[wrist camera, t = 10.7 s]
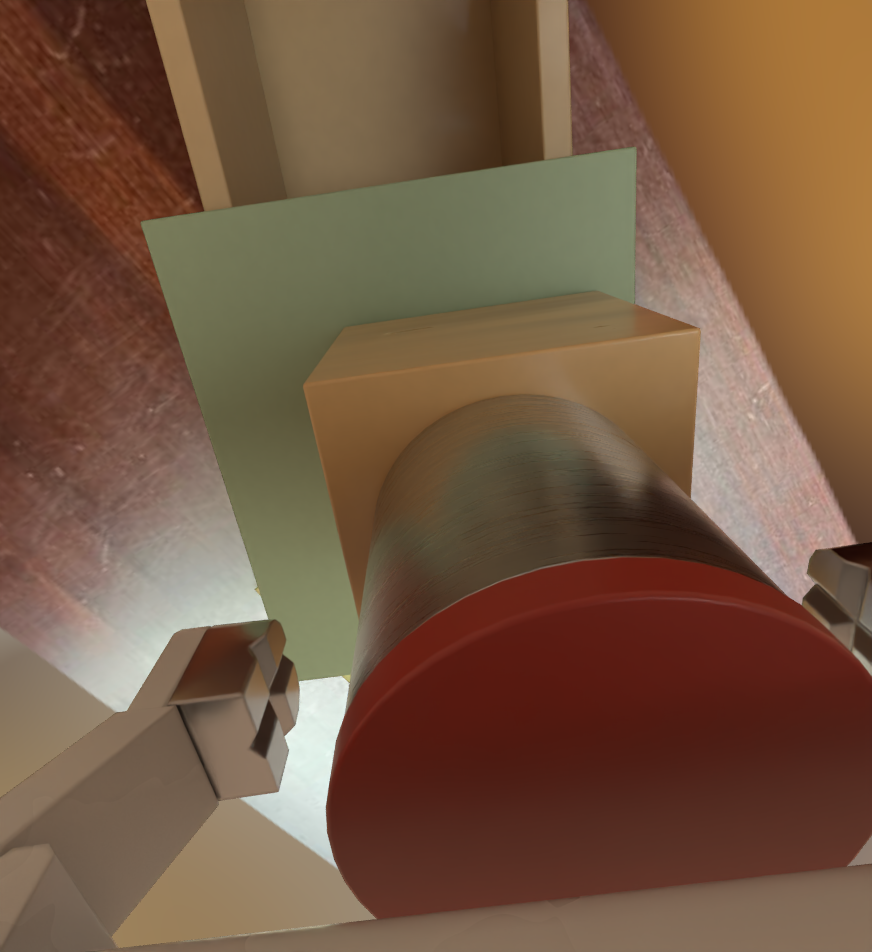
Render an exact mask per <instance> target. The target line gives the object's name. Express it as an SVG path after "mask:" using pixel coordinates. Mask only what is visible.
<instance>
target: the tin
mask: <svg viewBox="0 0 872 952" xmlns="http://www.w3.org/2000/svg"><path fill="white" fill-rule="evenodd" d="M326 820H327V834H328V838H329V841H330V845H331V849H332V853H333V857H334V860H335V862H336V864H337V867H338V869H339V871H340V873H341V875H342V877H343V879H344V881H345V883H346V884H347V885H348V887H349V888H350V890H351V891H352V892H353V894H354V895H355V897H356V898H357V899H358V901H359V902H360V903H361V904H362V905H363V906H364V907H365V908H366V909H367V910H368V911H369V912H370V913H371V914H373V916H374V917H375V918H376V919H383V918H392V917H401V916H410V915H419V914H428V913H437V912H445V911H454V910H463V909H472V908H481V907H490V906H499V905H508V904H517V903H526V902H535V901H544V900H553V899H562V898H571V897H580V896H589V895H598V894H607V893H616V892H625V891H634V890H643V889H652V888H661V887H670V886H679V885H688V884H697V883H706V882H715V881H724V880H733V879H742V878H751V877H759V876H768V875H777V874H786V873H795V872H803V871H812V870H821V869H830V868H838V867H847V865H848V864H849V863H850V862H851V861H852V860H853V859H854V858H855V857H856V856H857V854H858V853H859V852H860V850H861V849H862V848H863V846H864V845H865V844H866V842H867V841H868V840H869V838H870V837H871V835H872V676H871V675H870V673H869V672H868V671H867V669H866V668H865V667H864V665H863V664H862V663H861V662H860V660H859V659H858V658H857V657H856V656H855V655H854V654H853V653H852V652H851V651H850V650H849V649H848V648H847V647H846V646H845V645H844V644H843V643H842V642H840V641H839V640H838V639H837V638H836V637H835V636H834V635H833V634H832V633H831V632H830V631H829V630H828V629H827V628H826V627H825V626H824V625H823V624H822V623H821V622H820V621H819V620H818V619H816V618H815V617H814V616H813V615H812V614H811V613H810V612H808V611H807V610H806V609H805V608H804V607H803V606H802V605H800V604H799V603H797V602H795V601H794V600H792V599H791V598H789V597H788V596H787V595H786V594H785V593H784V592H783V591H782V590H781V589H780V588H779V587H778V586H777V585H776V584H775V583H774V582H773V581H772V580H771V579H770V578H769V577H768V576H767V575H766V574H765V573H764V572H763V571H762V570H761V569H760V568H759V567H758V566H757V565H756V564H755V563H754V562H753V561H752V560H751V559H750V558H749V557H748V556H747V555H746V554H745V553H744V552H743V551H742V550H741V549H740V548H739V547H738V546H737V545H736V544H735V543H734V542H733V541H732V540H731V539H730V538H729V537H728V536H727V535H726V534H725V533H724V532H723V531H722V530H721V529H720V528H719V527H718V526H717V525H716V524H715V523H714V522H713V521H712V520H711V519H710V518H709V517H708V516H707V515H706V514H705V513H704V512H703V511H702V510H701V509H700V508H699V507H698V506H697V505H696V504H695V503H694V502H693V501H692V500H691V499H690V498H689V497H688V496H687V495H686V494H685V493H684V492H683V491H682V490H681V489H680V488H679V487H678V485H677V484H676V483H675V482H674V481H673V480H672V479H671V478H670V477H669V476H668V475H667V474H666V473H665V472H664V471H663V470H662V469H661V468H660V467H659V466H658V465H657V464H656V463H655V462H654V461H653V460H652V459H651V458H650V457H649V456H648V455H647V454H646V453H645V452H644V451H643V450H642V449H641V448H640V447H639V446H638V445H637V444H636V443H635V442H634V441H633V440H632V439H631V438H630V437H629V436H628V435H627V434H626V433H625V432H623V431H622V430H621V429H620V428H619V427H618V426H617V425H616V424H615V423H613V422H612V421H610V420H609V419H607V418H606V417H604V416H603V415H601V414H600V413H598V412H596V411H594V410H592V409H590V408H588V407H586V406H584V405H581V404H579V403H575V402H572V401H569V400H566V399H562V398H557V397H551V396H545V395H529V394H519V395H508V396H499V397H495V398H490V399H486V400H481V401H478V402H475V403H473V404H470V405H467V406H464V407H461V408H459V409H457V410H455V411H453V412H451V413H449V414H447V415H445V416H443V417H442V418H440V419H439V420H437V421H436V422H434V423H433V424H432V425H430V426H429V427H427V428H426V429H425V430H424V431H422V432H421V433H420V434H419V435H418V436H417V437H416V438H414V439H413V440H412V441H411V442H410V443H409V445H408V446H407V447H406V448H405V449H404V450H403V452H402V453H401V454H400V455H399V456H398V458H397V459H396V461H395V463H394V464H393V466H392V467H391V469H390V470H389V472H388V474H387V476H386V478H385V481H384V483H383V485H382V487H381V490H380V494H379V497H378V500H377V504H376V510H375V517H374V524H373V530H372V537H371V544H370V550H369V557H368V564H367V570H366V577H365V584H364V590H363V597H362V604H361V611H360V617H359V624H358V631H357V637H356V644H355V651H354V657H353V664H352V671H351V677H350V684H349V691H348V697H347V704H346V711H345V716H344V719H343V722H342V725H341V728H340V731H339V734H338V737H337V740H336V745H335V751H334V757H333V764H332V770H331V776H330V782H329V789H328V796H327V803H326Z"/></svg>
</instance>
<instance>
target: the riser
mask: <svg viewBox="0 0 872 952" xmlns="http://www.w3.org/2000/svg"><path fill="white" fill-rule="evenodd" d="M700 334H701V331H700V328H698V327H695V326H692V325H689V324H687V323H684V322H681V321H679V320H676V319H673V318H670V317H668V316H665V315H662V314H660V313H657V312H654V311H651V310H649V309H646V308H643V307H641V306H638V305H635V304H632V303H630V302H627V301H624V300H622V299H619V298H616V297H613V296H611V295H608V294H605V293H603V292H600V291H592V292H585V293H578V294H571V295H564V296H557V297H550V298H543V299H536V300H529V301H522V302H515V303H508V304H501V305H494V306H487V307H480V308H474V309H467V310H460V311H453V312H446V313H439V314H432V315H425V316H418V317H411V318H404V319H397V320H390V321H383V322H376V323H369V324H362V325H355V326H348V327H345V328H343V330H342V331H341V333H340V334H339V335H338V337H337V338H336V340H335V341H334V342H333V344H332V345H331V346H330V348H329V349H328V351H327V352H326V353H325V355H324V356H323V358H322V359H321V360H320V362H319V363H318V365H317V366H316V367H315V369H314V370H313V372H312V373H311V374H310V376H309V377H308V378H307V380H306V381H305V383H304V384H303V390H304V394H305V398H306V402H307V406H308V410H309V415H310V419H311V423H312V427H313V431H314V435H315V440H316V444H317V448H318V452H319V456H320V460H321V465H322V469H323V473H324V477H325V481H326V485H327V490H328V494H329V498H330V502H331V506H332V510H333V515H334V519H335V523H336V527H337V531H338V535H339V540H340V544H341V548H342V552H343V556H344V560H345V565H346V569H347V573H348V577H349V581H350V585H351V590H352V594H353V598H354V602H355V606H356V610H357V615H358V619H359V617H360V611H361V604H362V597H363V590H364V584H365V577H366V570H367V564H368V557H369V550H370V544H371V537H372V530H373V524H374V517H375V510H376V504H377V500H378V497H379V494H380V490H381V487H382V485H383V483H384V481H385V478H386V476H387V474H388V472H389V470H390V469H391V467H392V466H393V464H394V463H395V461H396V459H397V458H398V456H399V455H400V454H401V453H402V452H403V450H404V449H405V448H406V447H407V446H408V445H409V443H410V442H411V441H412V440H413V439H414V438H416V437H417V436H418V435H419V434H420V433H421V432H422V431H424V430H425V429H426V428H427V427H429V426H430V425H432V424H433V423H434V422H436V421H437V420H439V419H440V418H442V417H443V416H445V415H447V414H449V413H451V412H453V411H455V410H457V409H459V408H461V407H464V406H467V405H470V404H473V403H475V402H478V401H481V400H486V399H490V398H495V397H499V396H508V395H519V394H529V395H545V396H551V397H557V398H562V399H566V400H569V401H572V402H575V403H579V404H581V405H584V406H586V407H588V408H590V409H592V410H594V411H596V412H598V413H600V414H601V415H603V416H604V417H606V418H607V419H609V420H610V421H612V422H613V423H615V424H616V425H617V426H618V427H619V428H620V429H621V430H622V431H623V432H625V433H626V434H627V435H628V436H629V437H630V438H631V439H632V440H633V441H634V442H635V443H636V444H637V445H638V446H639V447H640V448H641V449H642V450H643V451H644V452H645V453H646V454H647V455H648V456H649V457H650V458H651V459H652V460H653V461H654V462H655V463H656V464H657V465H658V466H659V467H660V468H661V469H662V470H663V471H664V472H665V473H666V474H667V475H668V476H669V477H670V478H671V479H672V480H673V481H674V482H675V483H676V484H677V485H678V487H679V488H680V489H681V490H682V491H683V492H684V493H685V494H686V495H687V496H688V497H689V498H690V499H691V483H692V466H693V450H694V433H695V417H696V400H697V383H698V367H699V350H700Z"/></svg>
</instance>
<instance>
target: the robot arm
mask: <svg viewBox="0 0 872 952" xmlns="http://www.w3.org/2000/svg"><path fill="white" fill-rule="evenodd" d="M807 574H808V575H809V577H810V578H811V579H812V581H813V582H814V583H815V585H814V586H813V587H812V588H811V590H810V591H809V592H808V593H807V594H806V595H805V596H804V597H803V602H802V606H803V607H804V608H805V609H806V610H807V611H808V612H810V613H811V614H812V615H813V616H814V617H815V618H816V619H818V620H819V621H820V622H821V623H822V624H823V625H824V626H825V627H826V628H827V629H828V630H829V631H830V632H831V633H832V634H833V635H834V636H835V637H836V638H837V639H838V640H839V641H840V642H842V643H843V644H844V645H845V646H846V647H847V648H848V649H849V650H850V651H851V652H852V653H853V654H854V655H855V656H856V657H857V658H858V659H859V660H860V662H861V663H862V664H863V665H864V667H865V668H866V669H867V671H868V672H869V673H870V675H871V676H872V542H870V543H863V544H856V545H848V546H841V547H833V548H826V549H819V550H815V552H814V553H813V555H812V556H811V558H810V560H809V565H808V571H807ZM286 641H287V639H286V636H285V633H284V630H283V628H282V625H281V623H280V622H279V621H277V620H276V619H270V620H261V621H251V622H242V623H233V624H223V625H214V626H212V627H211V626H206V627H198V628H190V629H182V630H180V631H178V632H176V633H175V634H174V635H173V636H172V637H171V639H170V641H169V642H168V644H167V646H166V647H165V649H164V651H163V652H162V654H161V656H160V657H159V659H158V661H157V662H156V664H155V665H154V667H153V669H152V670H151V672H150V674H149V675H148V677H147V679H146V680H145V682H144V684H143V685H142V687H141V688H140V690H139V692H138V693H137V695H136V697H135V698H134V700H133V702H132V703H131V705H130V707H129V708H128V710H127V711H125V712H117V713H115V714H113V715H112V716H111V717H109V718H108V719H107V720H105V721H104V722H103V723H101V724H100V725H98V726H97V727H96V728H94V729H93V730H92V731H90V732H89V733H88V734H87V735H85V736H84V737H82V738H81V739H79V740H78V741H77V742H75V743H74V744H73V745H71V746H70V747H69V748H67V749H66V750H64V751H63V752H62V753H60V754H59V755H58V756H57V757H55V758H54V759H52V760H51V761H50V762H48V763H47V764H45V765H44V766H43V767H42V768H40V769H39V770H37V771H36V772H35V773H33V774H32V775H31V776H29V777H28V778H26V779H25V780H24V781H22V782H21V783H20V784H18V785H17V786H16V787H14V788H13V789H12V790H10V791H9V792H7V793H6V794H5V795H3V796H2V797H1V798H0V952H872V864H865V865H856V866H848V867H838V868H830V869H821V870H812V871H803V872H795V873H786V874H777V875H768V876H759V877H751V878H742V879H733V880H724V881H715V882H706V883H697V884H688V885H679V886H670V887H661V888H652V889H643V890H634V891H625V892H616V893H607V894H598V895H589V896H580V897H571V898H562V899H553V900H544V901H535V902H526V903H517V904H508V905H499V906H490V907H481V908H472V909H463V910H454V911H445V912H437V913H428V914H419V915H410V916H401V917H392V918H383V919H375V920H366V921H357V922H349V923H339V924H330V925H321V926H312V927H304V928H294V929H285V930H276V931H267V932H259V933H250V934H241V935H232V936H223V937H214V938H205V939H197V940H187V941H178V942H170V943H161V944H152V945H143V946H134V947H126V948H119V947H118V946H117V944H116V943H115V942H114V940H113V938H112V935H113V934H114V933H115V932H116V930H117V929H118V928H119V927H120V925H121V924H122V923H123V922H124V920H125V919H126V918H127V917H128V916H129V915H130V913H131V912H132V911H133V910H134V908H135V907H136V906H137V905H138V903H139V902H140V901H141V900H142V899H143V897H144V896H145V895H146V894H147V892H148V891H149V890H150V889H151V888H152V886H153V885H154V884H155V883H156V881H157V880H158V879H159V878H160V876H161V875H162V874H163V873H164V872H165V870H166V869H167V868H168V867H169V865H170V864H171V863H172V862H173V860H174V859H175V858H176V857H177V856H178V854H179V853H180V852H181V851H182V849H183V848H184V847H185V846H186V845H187V843H188V842H189V841H190V840H191V838H192V837H193V836H194V835H195V833H196V832H197V831H198V830H199V828H200V827H201V826H202V825H203V824H204V822H205V821H206V820H207V819H208V817H209V816H210V815H211V814H212V813H213V811H214V810H215V809H216V808H217V806H218V805H219V802H218V801H221V800H227V799H235V798H241V797H248V796H255V795H261V794H268V793H275V792H279V788H280V784H281V780H282V776H283V772H284V768H285V764H286V760H287V756H288V752H289V749H288V746H287V743H286V740H285V737H284V736H285V735H286V734H287V733H288V732H289V731H290V730H291V729H292V728H293V727H294V726H295V724H296V720H297V715H298V711H299V693H300V689H299V682H298V675H297V671H296V668H295V665H294V662H293V661H291V660H290V659H289V658H287V657H286V656H285V655H283V651H284V648H285V644H286Z"/></svg>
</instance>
